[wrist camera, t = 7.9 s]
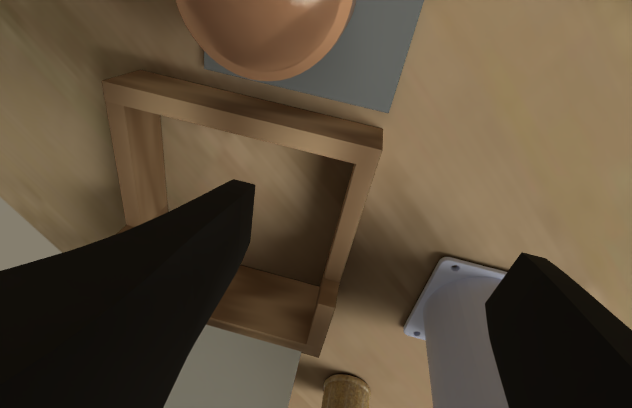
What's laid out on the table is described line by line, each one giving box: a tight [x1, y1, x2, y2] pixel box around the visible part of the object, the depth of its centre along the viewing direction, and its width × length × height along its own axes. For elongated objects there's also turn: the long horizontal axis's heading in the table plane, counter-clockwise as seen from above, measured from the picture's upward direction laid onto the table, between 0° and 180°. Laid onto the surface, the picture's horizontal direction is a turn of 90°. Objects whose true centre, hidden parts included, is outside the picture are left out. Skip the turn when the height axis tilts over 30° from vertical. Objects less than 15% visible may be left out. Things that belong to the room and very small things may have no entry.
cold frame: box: [102, 70, 383, 358], centre depth 18 cm, size 14×16×11 cm
